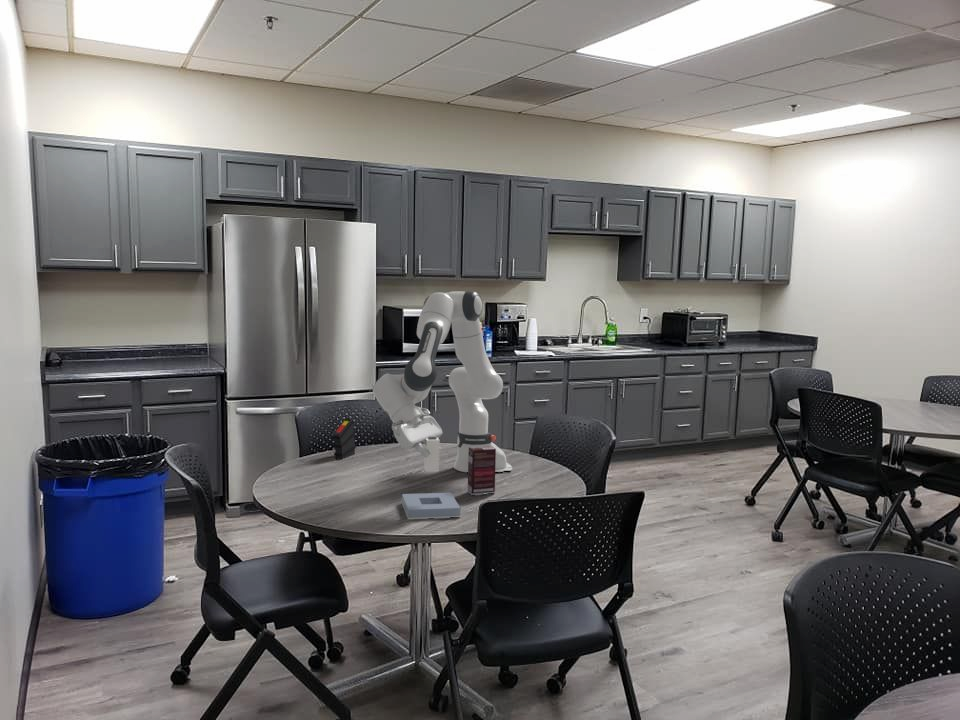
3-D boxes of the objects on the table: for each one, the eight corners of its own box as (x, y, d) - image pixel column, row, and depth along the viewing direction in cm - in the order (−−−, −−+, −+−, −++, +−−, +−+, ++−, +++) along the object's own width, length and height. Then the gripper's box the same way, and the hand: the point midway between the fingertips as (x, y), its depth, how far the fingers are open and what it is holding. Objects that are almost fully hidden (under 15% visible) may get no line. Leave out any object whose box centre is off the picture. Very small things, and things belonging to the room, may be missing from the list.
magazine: (359, 448, 296) (352, 418, 289) (344, 468, 286) (337, 438, 278) (351, 447, 298) (344, 417, 290) (336, 467, 287) (328, 437, 279)
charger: (436, 468, 227) (437, 435, 226) (438, 471, 223) (439, 438, 222) (423, 468, 226) (425, 435, 225) (425, 472, 222) (427, 438, 221)
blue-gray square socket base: (450, 501, 235) (450, 492, 235) (460, 517, 220) (460, 507, 219) (401, 503, 232) (402, 494, 231) (408, 519, 216) (408, 509, 216)
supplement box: (489, 490, 249) (491, 445, 248) (495, 494, 245) (496, 448, 243) (466, 492, 246) (468, 446, 245) (471, 496, 242) (472, 450, 240)
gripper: (395, 417, 216) (422, 454, 213) (430, 408, 234) (455, 441, 231) (383, 430, 219) (409, 466, 215) (418, 420, 237) (443, 453, 234)
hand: (433, 453), depth 223 cm, fingers closed on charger, 6 cm apart
